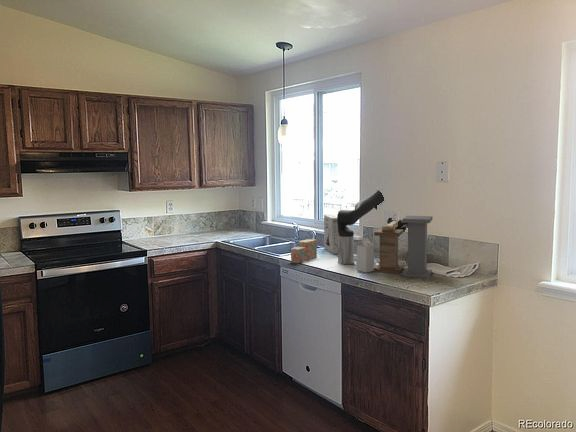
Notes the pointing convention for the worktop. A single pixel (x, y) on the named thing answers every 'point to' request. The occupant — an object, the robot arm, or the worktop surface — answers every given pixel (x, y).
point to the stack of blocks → (304, 251)
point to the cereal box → (331, 233)
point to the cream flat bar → (390, 227)
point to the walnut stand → (388, 251)
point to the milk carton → (365, 256)
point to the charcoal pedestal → (417, 246)
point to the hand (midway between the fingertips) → (397, 220)
